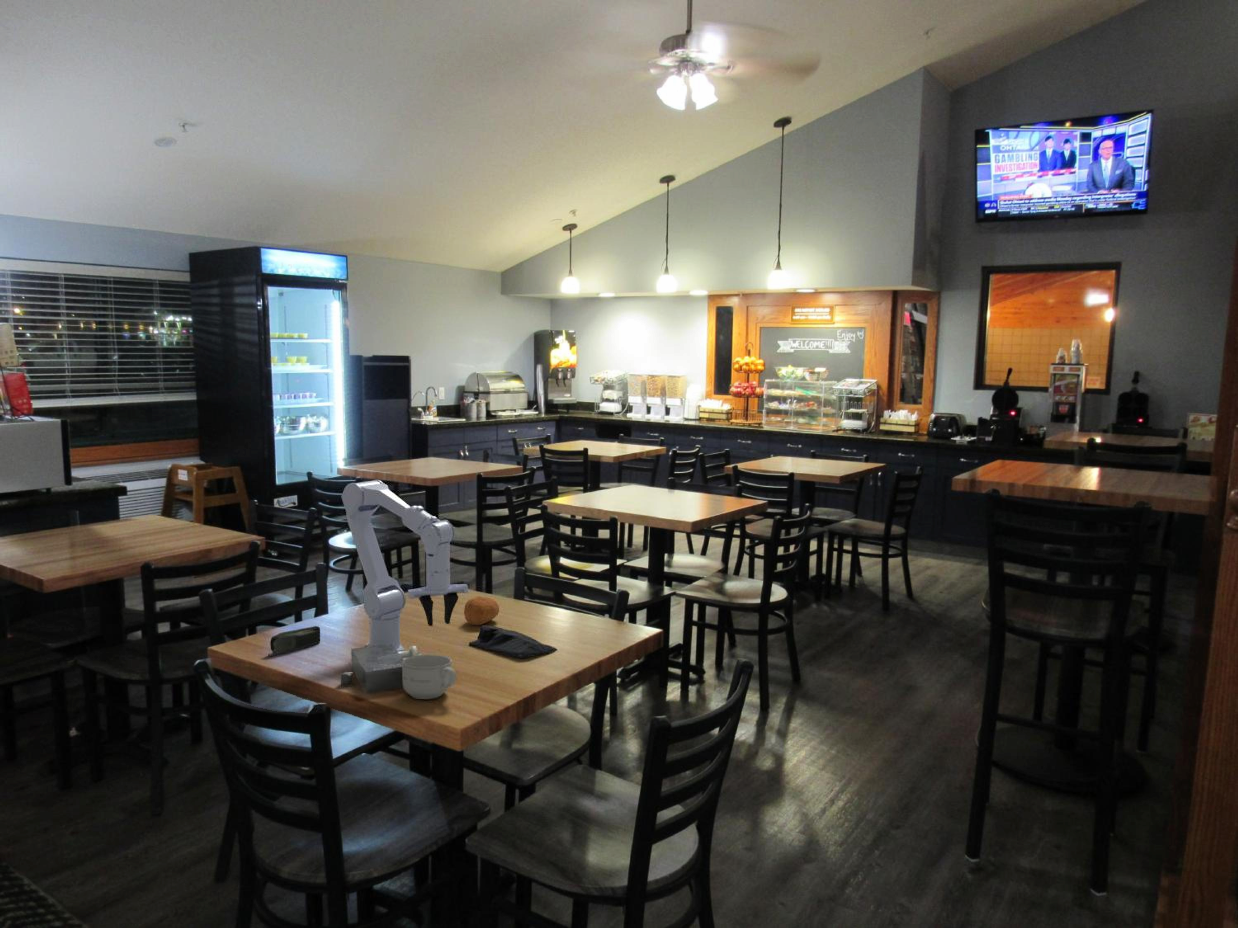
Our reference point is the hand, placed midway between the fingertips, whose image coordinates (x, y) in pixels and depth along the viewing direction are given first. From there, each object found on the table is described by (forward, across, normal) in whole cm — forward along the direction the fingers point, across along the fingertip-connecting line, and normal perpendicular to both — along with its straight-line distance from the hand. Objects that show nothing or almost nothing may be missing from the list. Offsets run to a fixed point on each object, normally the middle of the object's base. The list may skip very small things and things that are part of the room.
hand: (438, 623), depth 210 cm
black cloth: (+10, +20, +2) cm, 23 cm away
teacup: (+10, -8, -22) cm, 26 cm away
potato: (+10, +20, +28) cm, 35 cm away
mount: (+9, -16, -6) cm, 19 cm away
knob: (+9, -10, 0) cm, 13 cm away
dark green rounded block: (+10, -31, +25) cm, 41 cm away
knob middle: (+9, -10, -5) cm, 14 cm away
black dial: (+10, -23, -6) cm, 26 cm away
